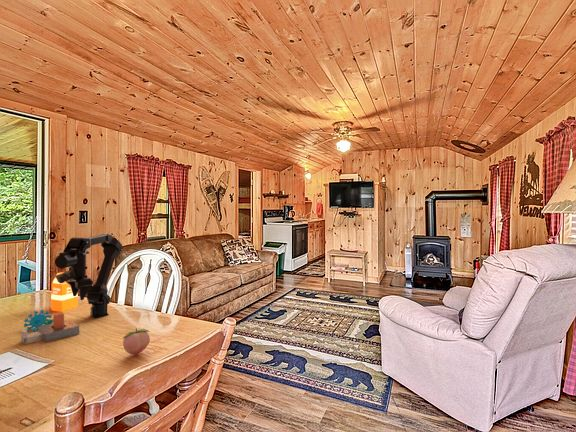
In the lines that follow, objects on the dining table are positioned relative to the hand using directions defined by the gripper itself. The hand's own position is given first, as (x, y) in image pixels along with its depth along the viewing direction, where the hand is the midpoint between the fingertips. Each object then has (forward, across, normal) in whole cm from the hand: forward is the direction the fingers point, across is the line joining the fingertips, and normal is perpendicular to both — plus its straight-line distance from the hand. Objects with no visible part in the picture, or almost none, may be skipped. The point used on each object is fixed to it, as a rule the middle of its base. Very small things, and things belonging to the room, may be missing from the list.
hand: (78, 298), depth 145 cm
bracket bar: (+13, +5, -18) cm, 23 cm away
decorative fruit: (+13, +48, +4) cm, 50 cm away
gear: (+13, -9, -12) cm, 20 cm away
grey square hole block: (+13, +5, -9) cm, 17 cm away
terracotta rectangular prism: (+13, +5, -9) cm, 17 cm away
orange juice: (+13, -33, +4) cm, 36 cm away
